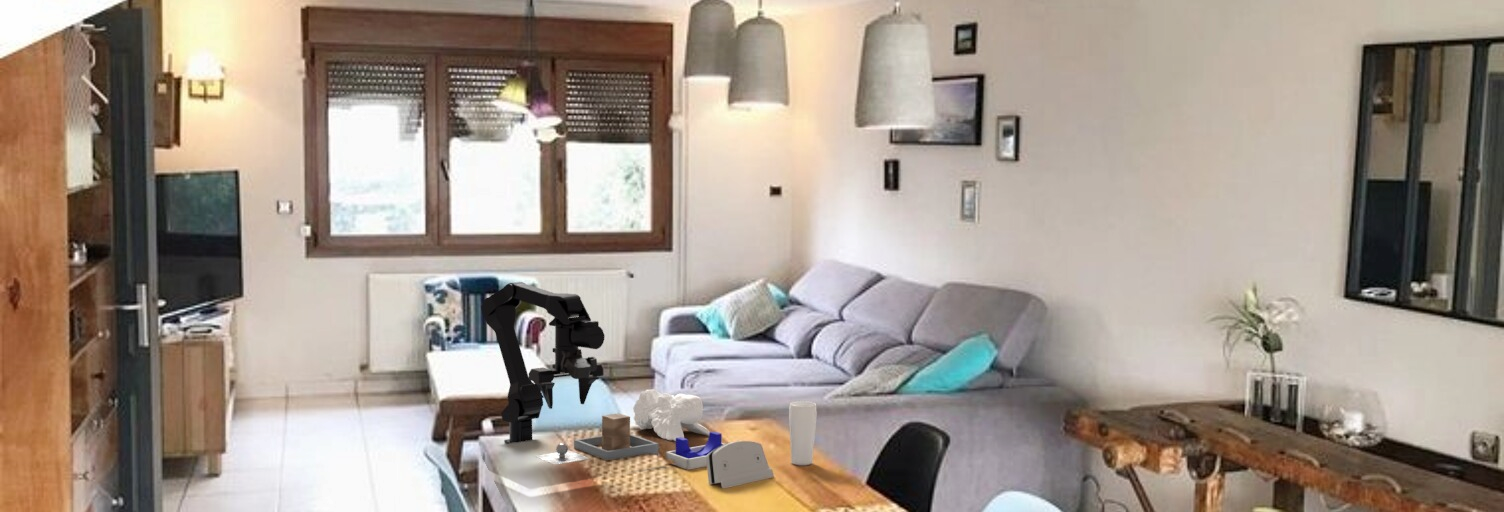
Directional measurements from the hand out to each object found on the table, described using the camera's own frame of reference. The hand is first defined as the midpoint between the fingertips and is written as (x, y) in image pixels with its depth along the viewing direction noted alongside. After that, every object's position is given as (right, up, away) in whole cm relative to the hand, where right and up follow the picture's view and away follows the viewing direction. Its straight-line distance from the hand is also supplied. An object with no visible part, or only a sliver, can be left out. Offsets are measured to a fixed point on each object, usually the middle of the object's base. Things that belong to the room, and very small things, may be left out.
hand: (566, 406), depth 323 cm
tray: (+12, -12, 0) cm, 17 cm away
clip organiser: (+35, -13, -4) cm, 37 cm away
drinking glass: (+59, -14, -5) cm, 61 cm away
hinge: (+43, -15, -20) cm, 50 cm away
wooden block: (+12, -11, 0) cm, 17 cm away
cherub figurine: (+25, -11, +25) cm, 37 cm away
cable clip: (+34, -13, -2) cm, 36 cm away
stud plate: (0, -13, -9) cm, 16 cm away
